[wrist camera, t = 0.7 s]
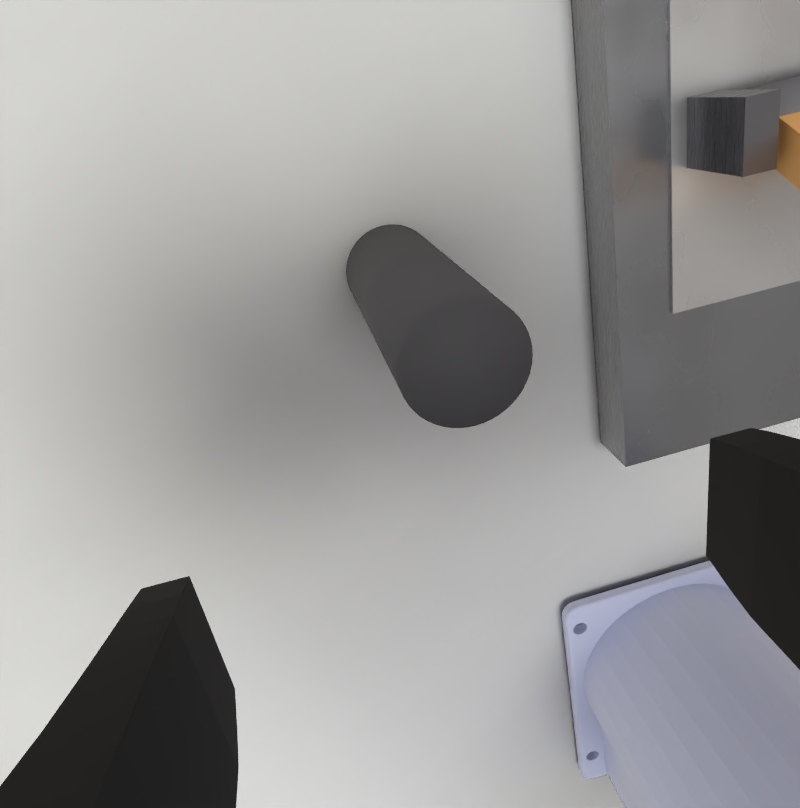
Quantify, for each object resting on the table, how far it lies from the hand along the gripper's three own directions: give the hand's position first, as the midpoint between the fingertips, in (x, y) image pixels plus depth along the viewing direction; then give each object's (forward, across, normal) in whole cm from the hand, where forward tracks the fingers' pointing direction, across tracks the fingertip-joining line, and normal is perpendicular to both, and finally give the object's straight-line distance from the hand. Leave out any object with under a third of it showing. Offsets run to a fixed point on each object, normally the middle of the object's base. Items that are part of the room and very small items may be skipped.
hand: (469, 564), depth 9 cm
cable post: (+10, -1, -2) cm, 10 cm away
